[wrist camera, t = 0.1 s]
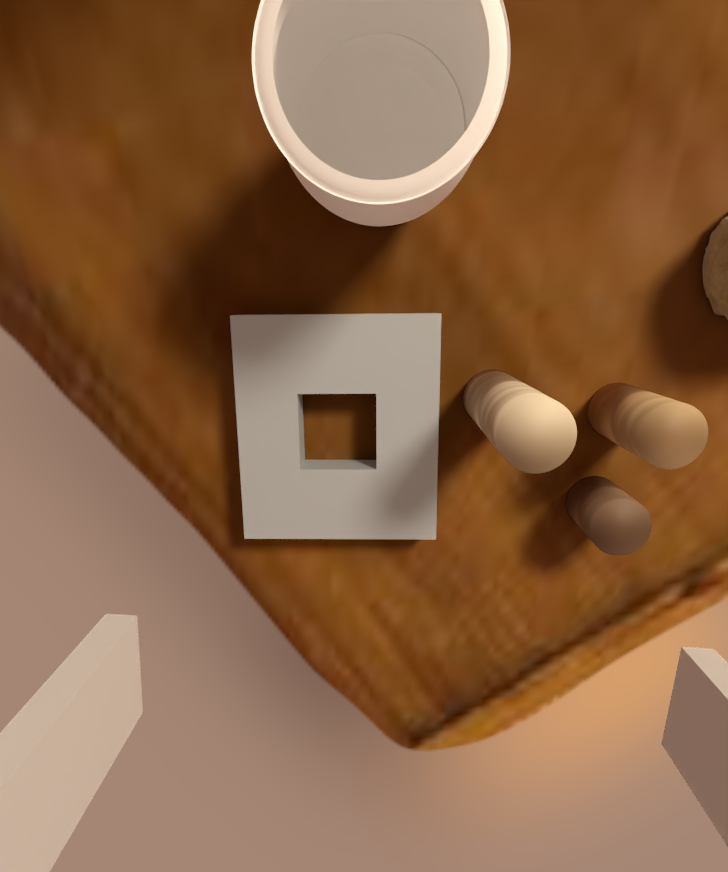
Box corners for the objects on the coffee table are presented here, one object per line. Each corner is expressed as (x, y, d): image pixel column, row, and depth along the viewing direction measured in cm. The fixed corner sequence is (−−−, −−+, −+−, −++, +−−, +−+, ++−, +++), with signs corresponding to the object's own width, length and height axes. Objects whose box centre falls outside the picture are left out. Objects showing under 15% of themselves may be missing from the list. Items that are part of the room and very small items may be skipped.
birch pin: (464, 369, 39) (499, 397, 27) (520, 369, 39) (580, 397, 27) (462, 424, 40) (496, 473, 28) (517, 424, 40) (573, 473, 28)
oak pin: (589, 383, 39) (641, 402, 31) (646, 382, 39) (712, 402, 31) (584, 437, 40) (634, 469, 32) (640, 437, 40) (703, 469, 32)
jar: (455, 243, 37) (503, 204, 23) (303, 242, 37) (255, 203, 23) (462, 66, 35) (522, -106, 20) (300, 67, 35) (243, -102, 20)
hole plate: (239, 314, 39) (229, 315, 36) (437, 312, 38) (441, 313, 36) (252, 525, 42) (244, 538, 40) (432, 525, 42) (436, 539, 40)
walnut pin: (567, 476, 41) (593, 499, 36) (621, 476, 41) (655, 499, 36) (563, 525, 42) (587, 555, 37) (616, 526, 42) (648, 555, 37)
